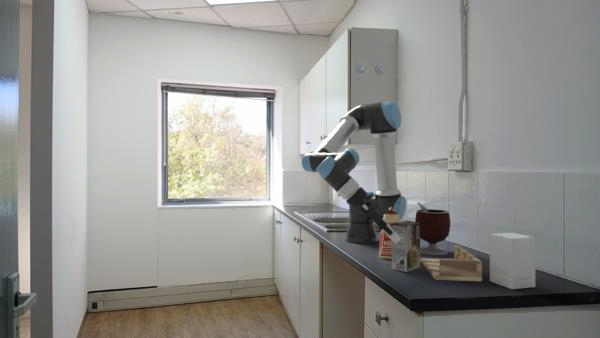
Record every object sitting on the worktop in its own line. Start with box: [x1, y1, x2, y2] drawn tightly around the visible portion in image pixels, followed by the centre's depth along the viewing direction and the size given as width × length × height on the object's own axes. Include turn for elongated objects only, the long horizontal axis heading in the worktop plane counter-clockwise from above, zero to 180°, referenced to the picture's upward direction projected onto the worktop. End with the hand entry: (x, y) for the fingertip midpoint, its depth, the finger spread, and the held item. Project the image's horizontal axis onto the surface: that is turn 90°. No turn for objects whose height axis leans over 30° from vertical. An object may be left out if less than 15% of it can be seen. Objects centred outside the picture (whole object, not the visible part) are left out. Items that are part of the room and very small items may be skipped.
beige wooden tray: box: [420, 245, 483, 282], centre depth 131 cm, size 24×14×6 cm, turn 174°
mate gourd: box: [414, 201, 451, 256], centre depth 161 cm, size 16×14×20 cm
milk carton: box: [378, 207, 400, 260], centre depth 152 cm, size 9×9×20 cm
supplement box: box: [489, 232, 536, 290], centre depth 116 cm, size 9×9×15 cm
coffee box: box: [391, 220, 421, 273], centre depth 134 cm, size 9×6×16 cm
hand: (395, 237), depth 133 cm, fingers open, 13 cm apart
